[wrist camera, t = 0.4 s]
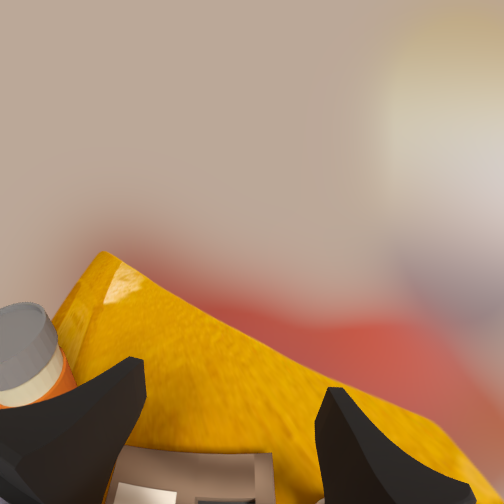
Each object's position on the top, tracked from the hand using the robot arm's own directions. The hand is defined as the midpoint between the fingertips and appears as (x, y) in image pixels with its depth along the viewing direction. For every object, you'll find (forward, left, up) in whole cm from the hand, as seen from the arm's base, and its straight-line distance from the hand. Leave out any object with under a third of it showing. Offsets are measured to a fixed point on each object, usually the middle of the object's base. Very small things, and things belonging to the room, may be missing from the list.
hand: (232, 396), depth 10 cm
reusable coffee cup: (+9, +25, -20) cm, 33 cm away
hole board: (-1, +6, -20) cm, 21 cm away
